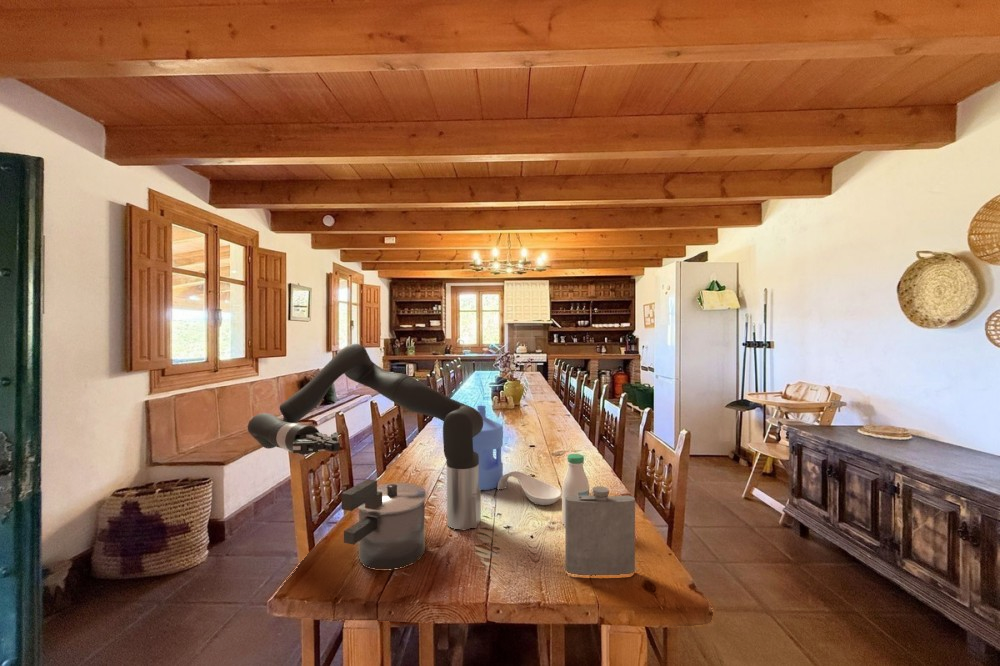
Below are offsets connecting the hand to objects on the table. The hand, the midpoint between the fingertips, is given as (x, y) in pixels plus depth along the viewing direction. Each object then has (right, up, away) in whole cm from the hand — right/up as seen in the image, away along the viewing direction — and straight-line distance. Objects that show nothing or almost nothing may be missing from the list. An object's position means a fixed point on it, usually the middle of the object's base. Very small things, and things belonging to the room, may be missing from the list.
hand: (337, 447), depth 106 cm
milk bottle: (+61, -27, +18) cm, 70 cm away
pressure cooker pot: (+11, -27, -1) cm, 30 cm away
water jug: (+33, -27, +51) cm, 67 cm away
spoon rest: (+49, -27, +39) cm, 68 cm away
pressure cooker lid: (+11, -14, -1) cm, 18 cm away
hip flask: (+63, -28, -6) cm, 69 cm away
